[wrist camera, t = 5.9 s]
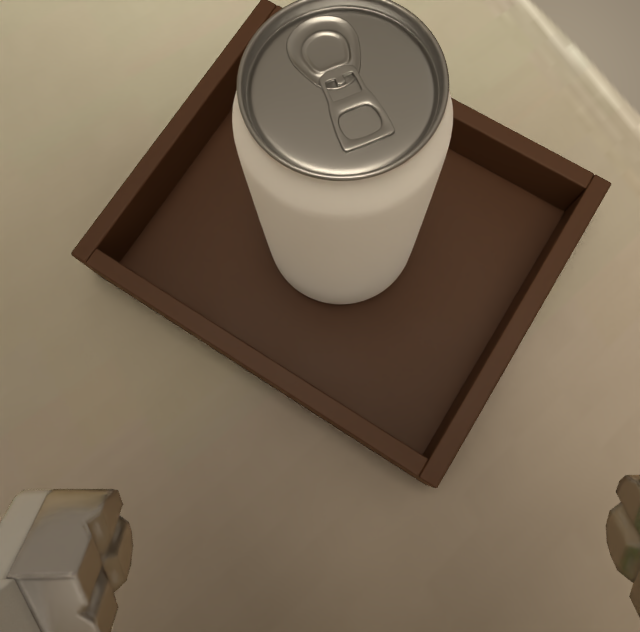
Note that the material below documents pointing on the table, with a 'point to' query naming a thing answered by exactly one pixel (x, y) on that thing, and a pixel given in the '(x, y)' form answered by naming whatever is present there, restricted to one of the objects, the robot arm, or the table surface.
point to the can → (342, 140)
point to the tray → (362, 317)
